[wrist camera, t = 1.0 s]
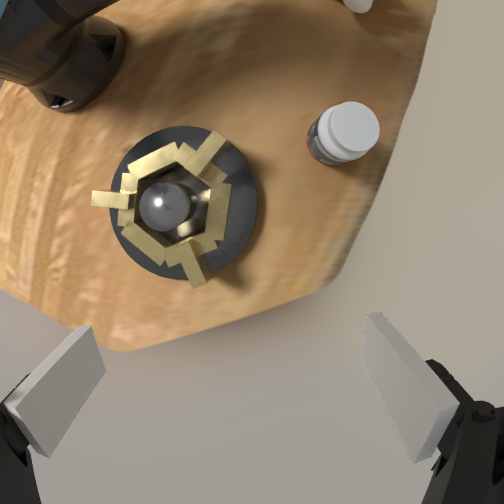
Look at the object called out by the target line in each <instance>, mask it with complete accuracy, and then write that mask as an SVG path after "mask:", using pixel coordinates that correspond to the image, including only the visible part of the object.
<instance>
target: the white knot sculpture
mask: <svg viewBox="0 0 504 504" xmlns="http://www.w3.org/2000/svg"><path fill="white" fill-rule="evenodd" d="M343 2H344V4H345V5H346V6H347V7H348V8H349V9H351V10H352V11H353V12H356V13H365V12H367V11H368V10H369V9H370V8H371V6H372V3H373V0H343Z"/></svg>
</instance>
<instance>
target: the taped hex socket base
mask: <svg viewBox="0 0 504 504" xmlns="http://www.w3.org/2000/svg"><path fill="white" fill-rule="evenodd" d="M229 146H230V144H229V142H228V140H227V139H226V138H225V137H223V136H222V135H220V134H219V133H218V132H216V131H215V130H213V131H212V133H211V134H210V135H209V136H208V137H207V139H206V140H205V141H204V142H203V144H202V145H201V146H200V147H199V149H198V150H197V151H196V150H194V149H193V148H192V147H190V146H189V145H187V144H186V143H183V144H182V145H180V144H178V143H177V142H173V143H171V144H168V145H166V146H164V147H162V148H160V149H158V150H156V151H154V152H152V153H150V154H148V155H146V156H144V157H142V158H140V159H138V160H136V161H135V162H133V163H131V164H129V165H128V168H129V171H130V173H122V181H121V190H120V191H119V190H93V191H92V202H91V205H93V206H102V207H110V208H119V210H118V223H117V225H118V226H125V227H124V229H123V231H122V232H121V234H122V235H123V236H124V237H125V238H126V239H128V240H129V241H130V242H131V243H132V244H134V245H135V246H136V247H137V248H139V249H140V250H141V251H142V252H143V253H145V254H146V255H147V256H148V257H150V258H151V259H152V260H153V261H154V262H156V263H157V264H158V265H159V266H161V265H162V264H163V263H164V262H165V261H166V263H167V265H168V267H171V266H174V265H176V264H179V263H181V264H182V266H183V268H184V271H185V273H186V275H187V277H188V279H189V282H190V284H191V286H192V288H193V289H194V288H197V287H199V286H202V285H205V284H207V282H208V280H209V278H210V276H211V274H212V271H211V268H210V266H209V264H208V261H207V259H206V257H205V254H204V253H207V252H209V251H212V250H214V249H217V248H218V247H219V245H220V241H219V240H221V241H224V239H225V237H226V232H227V225H228V217H229V211H230V204H231V197H232V190H233V185H232V184H226V183H225V182H226V181H227V180H228V179H229V177H230V176H229V175H227V174H226V173H225V172H223V171H222V170H221V169H220V168H218V167H217V166H216V165H215V164H216V162H217V161H218V160H219V159H220V157H221V156H222V155H223V154H224V152H225V151H226V150H227V149H228V148H229ZM180 164H181V165H182V166H184V168H185V169H187V170H188V171H189V172H191V173H192V174H193V175H195V176H196V177H198V178H199V179H201V180H202V181H203V182H204V183H206V184H207V185H208V186H210V187H211V190H210V197H209V205H208V212H207V220H206V227H205V230H204V231H202V232H199V233H197V234H195V235H192V236H190V237H187V238H185V239H182V240H180V241H178V242H175V243H171V242H170V241H169V240H168V239H166V238H165V237H164V236H163V235H161V234H160V233H159V232H158V231H156V230H154V229H152V228H150V227H149V226H148V225H147V224H146V223H145V222H144V221H143V219H142V217H141V214H140V200H141V197H142V195H143V193H144V192H145V191H146V185H147V180H148V179H150V178H152V177H154V176H156V175H158V174H160V173H163V172H165V171H167V170H169V169H171V168H173V167H175V166H178V165H180Z"/></svg>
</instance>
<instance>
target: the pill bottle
mask: <svg viewBox="0 0 504 504" xmlns="http://www.w3.org/2000/svg"><path fill="white" fill-rule="evenodd" d="M379 133H380V128H379V123H378V120H377V118H376V116H375V114H374V113H373V112H372V111H371V110H370V109H369V108H368V107H367V106H365V105H363V104H361V103H358V102H345V103H342V104H341V105H336V106H333V107H331V108H329V109H327V110H326V111H325V112H324V113H323V114H322V115H321V116H320V117H319V118H318V119H317V120H316V121H315V122H314V123H313V124H312V125H311V127H310V128H309V130H308V133H307V138H306V141H307V147H308V149H309V151H310V153H311V154H312V156H313V157H314V158H315V159H317V160H318V161H320V162H321V163H324V164H328V165H336V164H340V163H344V162H348V161H352V160H355V159H358V158H360V157H362V156H363V155H365V154H366V153H367V152H368V150H369V149H370V148H372V147H373V146H374V145H375V144H376V142H377V140H378V138H379Z"/></svg>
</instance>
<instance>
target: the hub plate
mask: <svg viewBox="0 0 504 504" xmlns="http://www.w3.org/2000/svg"><path fill="white" fill-rule="evenodd" d="M211 133H212V132H211V131H208V130H205V129H202V128H197V127H190V126H178V127H171V128H166V129H162V130H160V131H157V132H154V133H152V134H151V135H149V136H147V137H145V138H144V139H142V140H141V141H140V142H138V143H137V144H136V145H135V146H134V147H133V148H132V149H131V150H130V151H129V152H128V153H127V154H126V156H125V157H124V158H123V160H122V161H121V163H120V165H119V166H118V168H117V171H116V173H115V175H114V178H113V181H112V185H111V190H119V191H120V190H121V181H122V173H130V171H129V168H128V165H129V164H131V163H133V162H135V161H136V160H138V159H140V158H142V157H144V156H146V155H148V154H150V153H152V152H154V151H156V150H158V149H160V148H162V147H164V146H166V145H168V144H171V143H173V142H177V143H178V144H180V145H182V144H183V143H186V144H187V145H189V146H190V147H192V148H193V149H194V150H196V151H197V150H198V149H199V147H200V146H201V145H202V144H203V142H204V141H205V140H206V139H207V137H208V136H209V135H210V134H211ZM229 144H230V146H229V148H228V149H227V150H226V151H225V152H224V154H223V155H222V156H221V157H220V159H219V160H218V161H217V162H216V164H215V165H216V166H217V167H218V168H220V169H221V170H222V171H223V172H225V173H226V174H227V175H229V176H230V177H229V179H228V180H227V181H226V182H225V183H226V184H232V185H233V190H232V197H231V204H230V211H229V217H228V225H227V232H226V237H225V239H224V241H221V240H219V241H220V245H219V247H218V248H217V249H214V250H212V251H209V252H207V253H204V254H205V257H206V259H207V261H208V264H209V266H210V268H211V271H212V273H214V272H216V271H218V270H219V269H221V268H223V267H224V266H225V265H227V264H228V263H229V262H231V261H232V260H233V259H234V258H235V257H236V256H237V255H238V253H239V252H240V251H241V250H242V248H243V247H244V245H245V244H246V242H247V240H248V239H249V237H250V234H251V232H252V229H253V226H254V223H255V219H256V213H257V192H256V185H255V182H254V178H253V175H252V173H251V170H250V168H249V166H248V164H247V163H246V161H245V159H244V158H243V156H242V155H241V154H240V153H239V151H238V150H237V149H236V148H235V147H234V146H233V145H232V144H231V143H230V142H229ZM156 183H180V184H185V185H187V186H189V187H190V188H191V189H192V190H193V191H194V193H195V195H196V197H197V210H196V212H195V214H194V215H193V217H192V218H191V219H190V220H188V221H187V222H185V223H183V224H181V225H179V226H177V227H175V228H173V229H171V230H168V231H158V232H159V233H160V234H161V235H163V236H164V237H165V238H166V239H168V240H169V241H170V242H171V243H175V242H178V241H180V240H182V239H185V238H187V237H190V236H192V235H195V234H197V233H199V232H202V231H204V230H205V227H206V220H207V212H208V205H209V197H210V190H211V187H210V186H208V185H207V184H206V183H204V182H203V181H202V180H201V179H199V178H198V177H196V176H195V175H193V174H192V173H191V172H189V171H188V170H187V169H185V168H184V166H182V165H181V164H180V165H178V166H175V167H173V168H171V169H169V170H167V171H165V172H163V173H160V174H158V175H156V176H154V177H152V178H150V179H148V180H147V185H146V189H148V188H149V187H150V186H152V185H153V184H156ZM109 209H110V217H111V222H112V226H113V229H114V232H115V234H116V236H117V239H118V240H119V242H120V244H121V246H122V247H123V249H124V250H125V251H126V252H127V254H128V255H129V256H130V257H131V258H132V259H133V260H134V261H135V262H136V263H138V264H139V265H140V266H141V267H143V268H145V269H146V270H148V271H150V272H152V273H154V274H156V275H159V276H162V277H166V278H171V279H180V280H187V279H188V277H187V275H186V273H185V271H184V268H183V266H182V264H181V263H179V264H176V265H174V266H171V267H168V265H167V263H166V261H165V262H164V263H163V264H162V265H161V266H159V265H158V264H157V263H156V262H154V261H153V260H152V259H151V258H150V257H148V256H147V255H146V254H145V253H143V252H142V251H141V250H140V249H139V248H137V247H136V246H135V245H134V244H132V243H131V242H130V241H129V240H128V239H126V238H125V237H124V236H123V235H122V234H121V232H122V231H123V229H124V227H125V226H118V225H117V223H118V210H119V208H110V207H109ZM156 231H157V230H156Z"/></svg>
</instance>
